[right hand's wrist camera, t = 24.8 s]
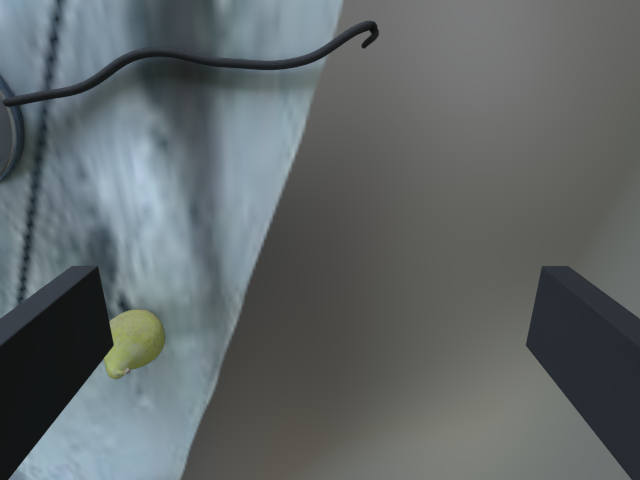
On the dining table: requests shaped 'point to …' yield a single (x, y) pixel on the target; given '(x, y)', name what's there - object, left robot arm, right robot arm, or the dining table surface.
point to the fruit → (133, 341)
